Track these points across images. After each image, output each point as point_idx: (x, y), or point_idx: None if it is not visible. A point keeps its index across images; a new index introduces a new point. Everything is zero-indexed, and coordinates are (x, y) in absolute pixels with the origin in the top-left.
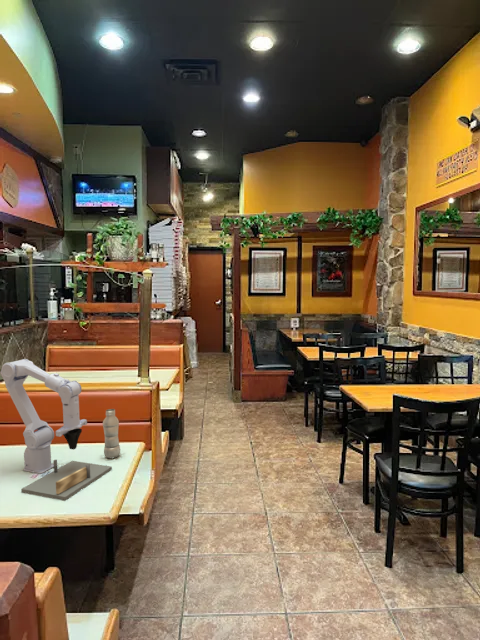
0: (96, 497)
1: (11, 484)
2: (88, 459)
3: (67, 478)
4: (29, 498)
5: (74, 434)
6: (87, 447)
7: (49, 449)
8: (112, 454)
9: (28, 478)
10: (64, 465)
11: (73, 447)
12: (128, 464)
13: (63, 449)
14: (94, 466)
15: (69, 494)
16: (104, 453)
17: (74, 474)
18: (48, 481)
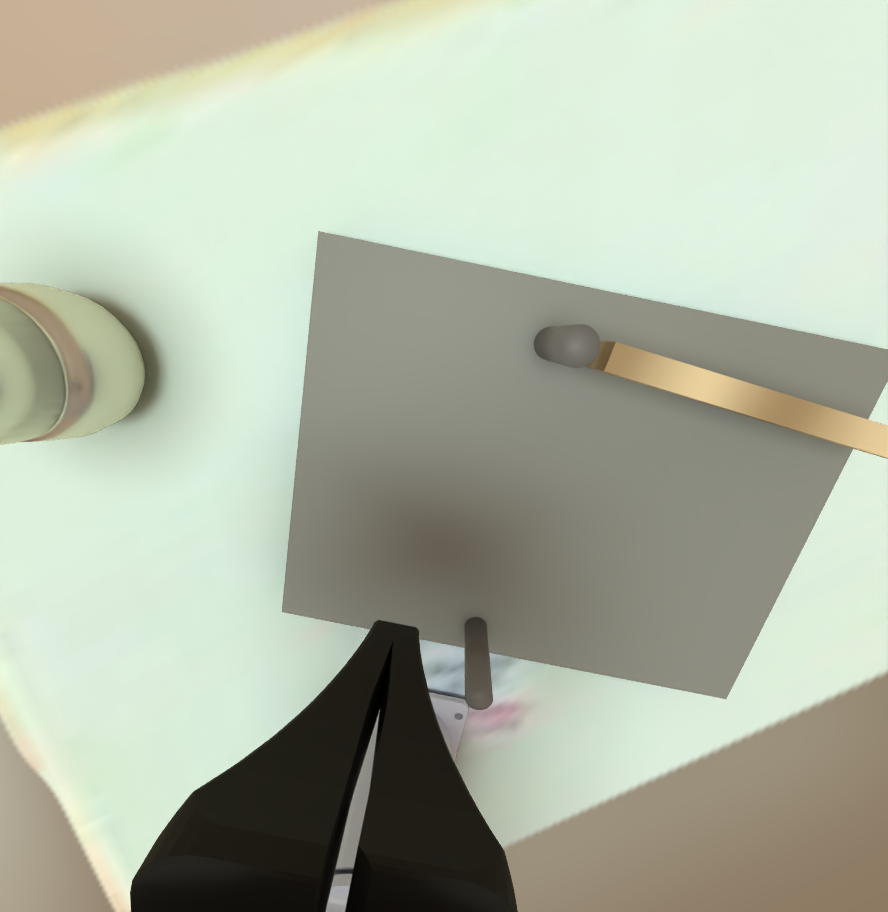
0: (857, 103)
1: (609, 773)
2: (199, 525)
3: (850, 414)
4: (801, 600)
5: (466, 853)
6: (22, 627)
7: (354, 834)
8: (111, 328)
9: (531, 732)
10: (366, 623)
11: (419, 648)
12: (192, 120)
13: (110, 747)
14: (343, 397)
15: (853, 343)
16: (119, 414)
17: (766, 389)
18: (622, 600)
